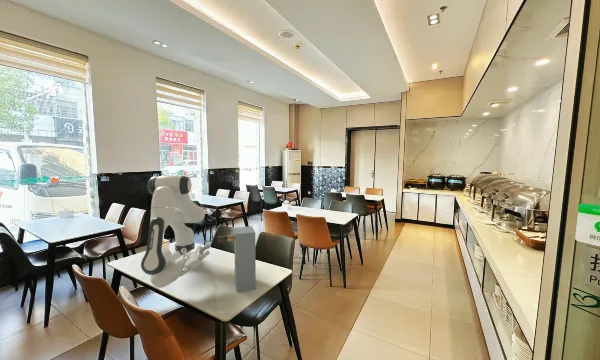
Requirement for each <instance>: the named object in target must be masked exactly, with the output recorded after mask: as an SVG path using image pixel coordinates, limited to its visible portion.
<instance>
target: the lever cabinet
mask: <svg viewBox="0 0 600 360" xmlns="http://www.w3.org/2000/svg"><path fill="white" fill-rule="evenodd" d="M233 233H234V234H233V235H235V241H233V242H234V244H233V245H234V283H235V290H236V293H240V292H246V291H252V290H256V289H257V287H256V285H257V283H256V277H257V276H256V274H257V271H256V265H257V264H256V263H257V262H256V231H255V229H254V227H253V226H240V227H234V229H233Z"/></svg>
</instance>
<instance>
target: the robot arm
mask: <svg viewBox="0 0 600 360" xmlns="http://www.w3.org/2000/svg"><path fill="white" fill-rule="evenodd" d="M192 185H193V184H192V181H191V179H190V178H189V177H188V176H186V175H160V176H159V175H155V176H152V177H150V178H149V179H148V180H147V190H148V192H149V193H150V195H152V198H151V204H150V219H149V220H150V222H149V230H148V236H147V243H146V250H145V253H144V255H143V257H142V259H141V262H140V267H141V270H142V272H143V273H145V274H147V275H149V276H150V282H151V284H152V285H153V286H155V288H158V289H162V288H165V287H167V286H169V285H171V284H172V283H174V282H176V281H177V280H178V279H179V278H180V277H183V276H184V275H186V274H187V273H190V272H191V271H193V270H195V269H196V268H198V267H200V266H201V264H203V260H204V259H205V258H206V257H207V256H209V255H210V254H211V253H210V250H209V249H210V248H211V245H210V244H207V245H204V246H201V245H198V246H195V245H196V243H195V240H194V239H195V235H194V234H195V233H194V232H195V231H193V229H192V228H191V227H187V225H186V224H195V223H199V222H202V221H203V220H204V218H205V216H206V215H205V214H206V212H205V210H204V208H203V207H201V206H199V205H197V204H196V203H195V202H193V200H192V199H191V197H190V194H189V193H190V192H191V190H192ZM168 226H170V227H171V229H172V230H173V232H174V238H175V239H174V240H175V244H174V251H173V253H172V252H171V250H169V249H168V248H163V244H164V235H165V232H166V229H167V228H168Z"/></svg>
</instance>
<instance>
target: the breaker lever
mask: <svg viewBox="0 0 600 360" xmlns="http://www.w3.org/2000/svg"><path fill="white" fill-rule="evenodd" d="M234 241H235V235H234V234H226V235H217V243H220V244H221V243H228V242H234Z"/></svg>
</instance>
